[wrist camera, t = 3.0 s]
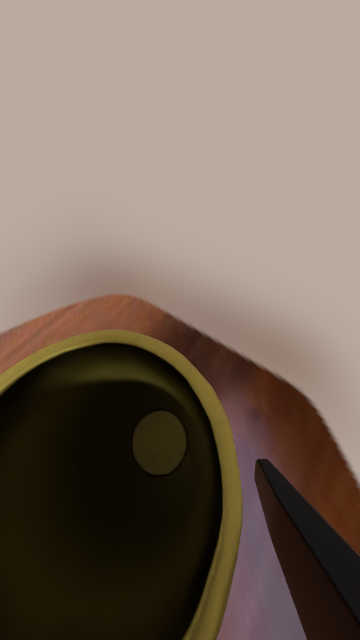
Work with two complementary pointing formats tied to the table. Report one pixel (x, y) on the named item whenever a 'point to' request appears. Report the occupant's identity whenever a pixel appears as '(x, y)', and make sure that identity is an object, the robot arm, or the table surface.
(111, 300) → the table surface
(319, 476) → the table surface
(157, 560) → the vase
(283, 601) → the table surface
